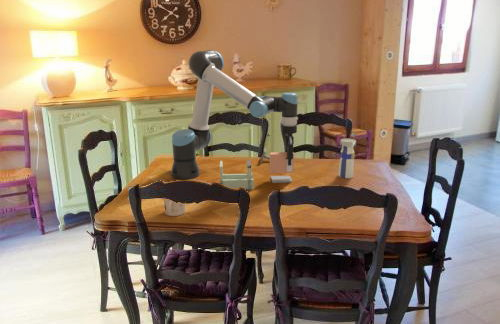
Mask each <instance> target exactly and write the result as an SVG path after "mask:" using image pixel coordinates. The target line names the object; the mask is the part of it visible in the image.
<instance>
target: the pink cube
mask: <svg viewBox="0 0 500 324" xmlns="http://www.w3.org/2000/svg"><path fill="white" fill-rule="evenodd" d="M269 157H270V160H269V173H270V174H294V173H295V152H294V151H293V159H292V171H286V164H287V159H286V158H287V152H285V151H281V152H280V151H279V152H278V151H277V152H276V151H275V152H269Z"/></svg>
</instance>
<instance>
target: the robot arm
mask: <svg viewBox="0 0 500 324" xmlns="http://www.w3.org/2000/svg"><path fill="white" fill-rule="evenodd" d="M224 64H225V61H224V57H223V56H222V54H221V53H220V52H218V51H216V50H211V49H208V50H198V51H196V52H194V53H193V54H191V56H190V57H189V60H188V66H189V69H190V71H191V72H192V74H193V75H194V76H196V77H197V85H196V92H195V98H194V105H193V113H192V119H191V120H192V121H191V122H189V123H188V126H187V129H179V130H176V131H174V132H173V133H172V136H171V137H172V139H171V143H172V157H173V159H172V160H173V163H172V166H171V170H170V176H171V178H174V179H178V180H179V179H180V180H187V179H194V178H197V177H199V176H200V174H201V173H200V171H201V170H200V168H199V165H198V162H197V160H196V159H197V157H196V152H198V151H200V150H202V149H204V148H206V147H207V146H209V144H210V143H211V141H212V133H211V129H210V128H211V127H210V125H209V120H210V119H209V117H210V112H211V104H212V100H213V92H214V87H215V88H217V89H218V90H219V91H221V92H223V93H224V94H226V95H227V96H228V97H230V98H231V99H233V100H234V101H236V102H237V103H238V104H240V105H242V106H243V107H245V108H246V109H247V110H249V113H250V114H251V116H253V118H262V117H264V116H266V115H269V114H270V113H281V133H282V134H284V152H287V158H286V159H287V164H286V171H292V159H293V152H294V142H295V141H294V136H293V134H296V133H297V132H298V126H297V125H298V120H299V117H298V104H299V102H298V94H297V93H295V92H283V93H282V94H281V96H271V95H270V96H269V95H260V96H258V95H257V94H255V93H254V92H253V91H250V90H249V89H248V88H246V87H245V86H244V85H242V84H240V83H239V82H237V81H236V80H235V79H233V78H231V77H230V76H229V75H228V74H226V73H224V72H223V71H222V70H223V68H224V66H225V65H224Z"/></svg>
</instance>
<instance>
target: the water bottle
mask: <svg viewBox="0 0 500 324" xmlns="http://www.w3.org/2000/svg"><path fill="white" fill-rule="evenodd" d="M356 134H357V132H355V131H353V132H352V133H351V135H352V136H351V138H342V139H340V140H339V141H340V142H339V143H340V145H341V150H340V153H341V154H340V157H339V165H338V166H339V167H338V168H339V169H338V174H337V175H338V177H339V178H342V179H353V178H354V166H355V165H354V164H355V163H354V162H355V161H354V159H355V158H356V153H355V150H354V147H356V146H357V140H356V139H354V138H356Z"/></svg>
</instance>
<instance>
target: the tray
mask: <svg viewBox="0 0 500 324" xmlns="http://www.w3.org/2000/svg"><path fill="white" fill-rule="evenodd" d="M270 179H271V182H272V183H273V184H276V183H277V184H278V183H279V184H283V183H286V184H288V183H293V180H292V177H291V176H290V175H270ZM272 183H271V184H272Z"/></svg>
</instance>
